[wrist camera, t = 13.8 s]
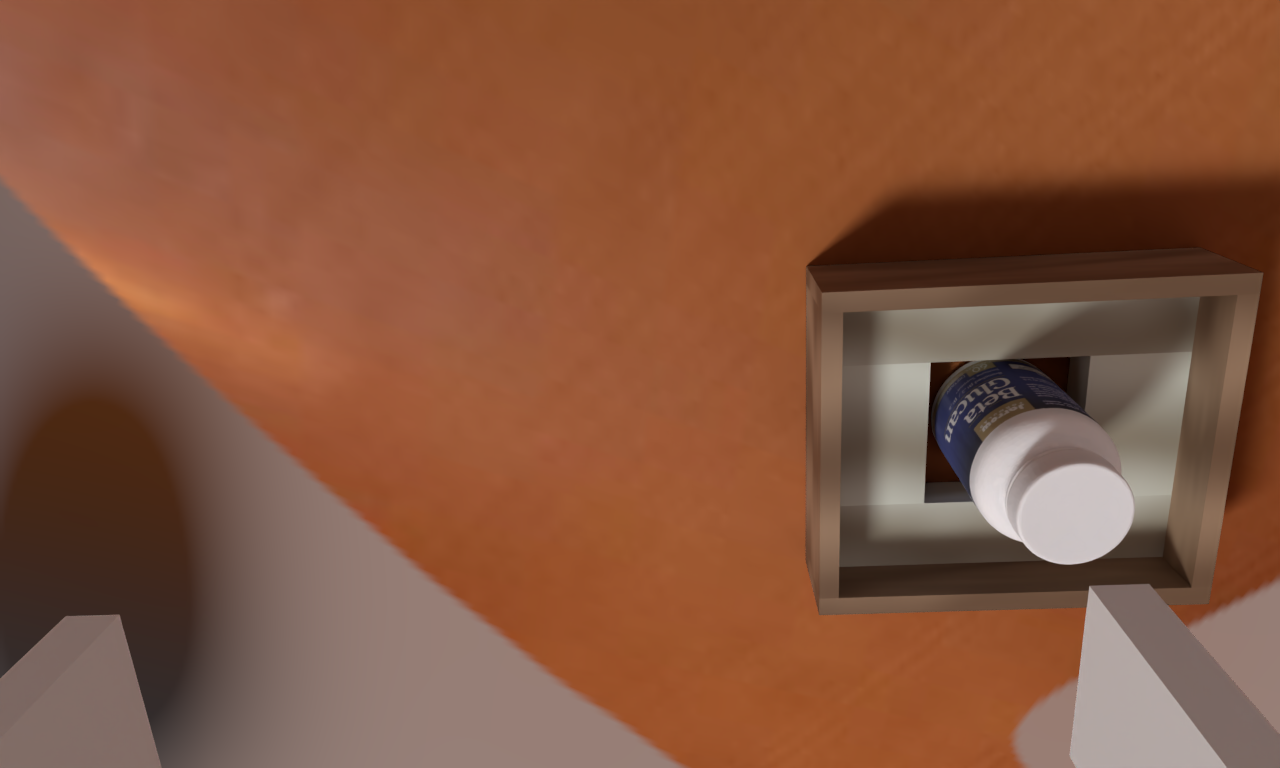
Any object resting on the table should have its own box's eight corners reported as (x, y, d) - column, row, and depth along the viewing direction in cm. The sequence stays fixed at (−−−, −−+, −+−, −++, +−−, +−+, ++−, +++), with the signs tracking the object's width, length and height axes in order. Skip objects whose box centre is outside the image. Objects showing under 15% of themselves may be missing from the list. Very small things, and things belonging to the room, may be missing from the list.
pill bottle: (971, 331, 41) (1057, 416, 32) (1077, 385, 42) (1192, 484, 32) (904, 435, 43) (966, 544, 34) (1007, 486, 43) (1096, 606, 34)
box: (806, 266, 40) (821, 292, 36) (1200, 247, 39) (1263, 272, 35) (805, 560, 45) (819, 615, 41) (1157, 549, 44) (1208, 603, 40)
